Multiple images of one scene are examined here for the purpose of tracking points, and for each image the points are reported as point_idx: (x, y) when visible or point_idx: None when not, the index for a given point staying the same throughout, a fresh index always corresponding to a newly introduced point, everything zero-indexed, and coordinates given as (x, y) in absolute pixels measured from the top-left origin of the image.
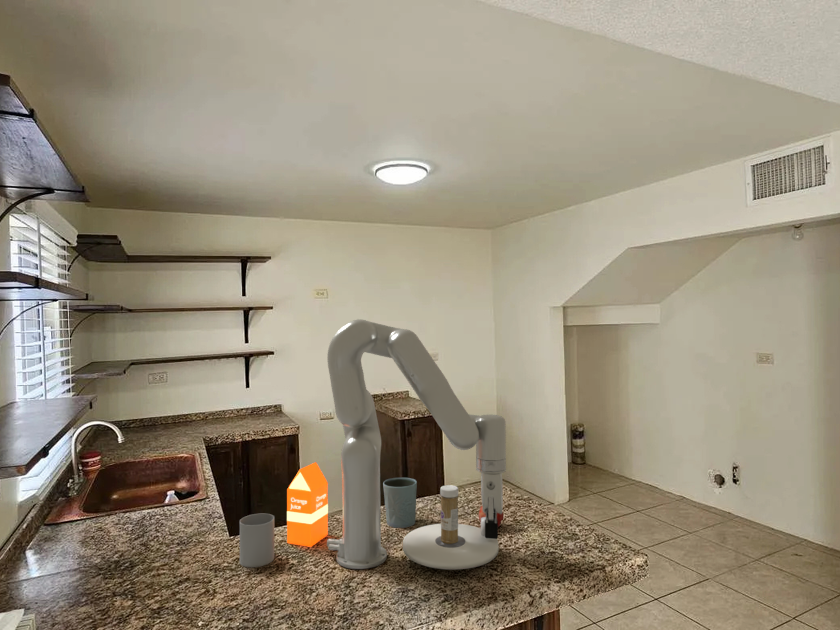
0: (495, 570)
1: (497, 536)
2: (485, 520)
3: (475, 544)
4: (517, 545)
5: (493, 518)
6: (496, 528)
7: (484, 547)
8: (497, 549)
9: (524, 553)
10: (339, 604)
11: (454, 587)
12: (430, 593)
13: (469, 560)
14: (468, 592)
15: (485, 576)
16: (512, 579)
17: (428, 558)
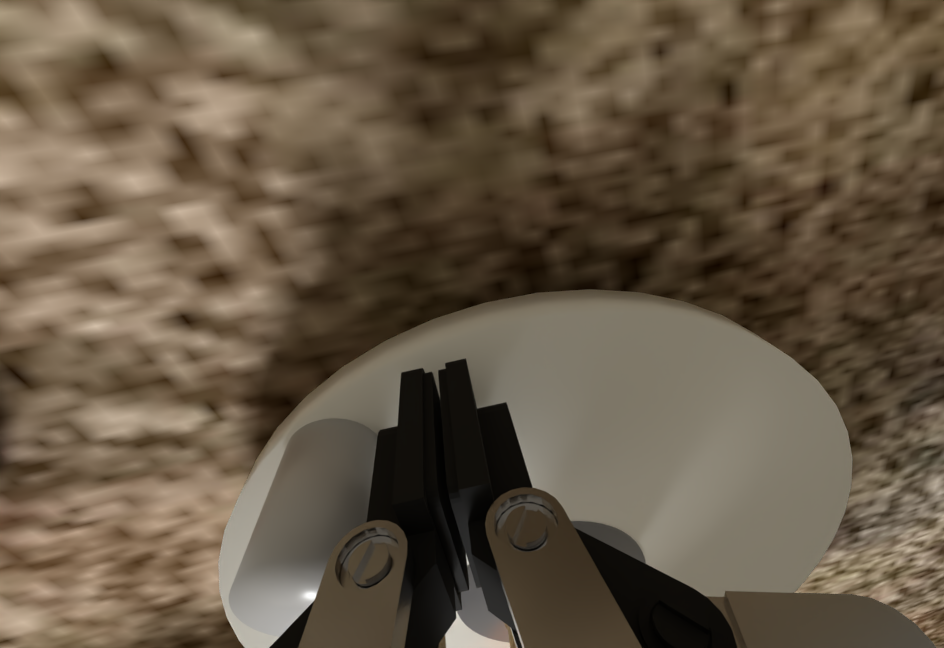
0: (654, 254)
1: (465, 368)
2: (460, 607)
3: (566, 466)
4: (139, 176)
5: (744, 616)
6: (478, 434)
7: (609, 402)
8: (584, 304)
9: (282, 77)
10: (904, 615)
11: (847, 396)
12: (884, 457)
13: (829, 427)
14: (905, 327)
15: (737, 293)
16: (780, 109)
17: (786, 586)
